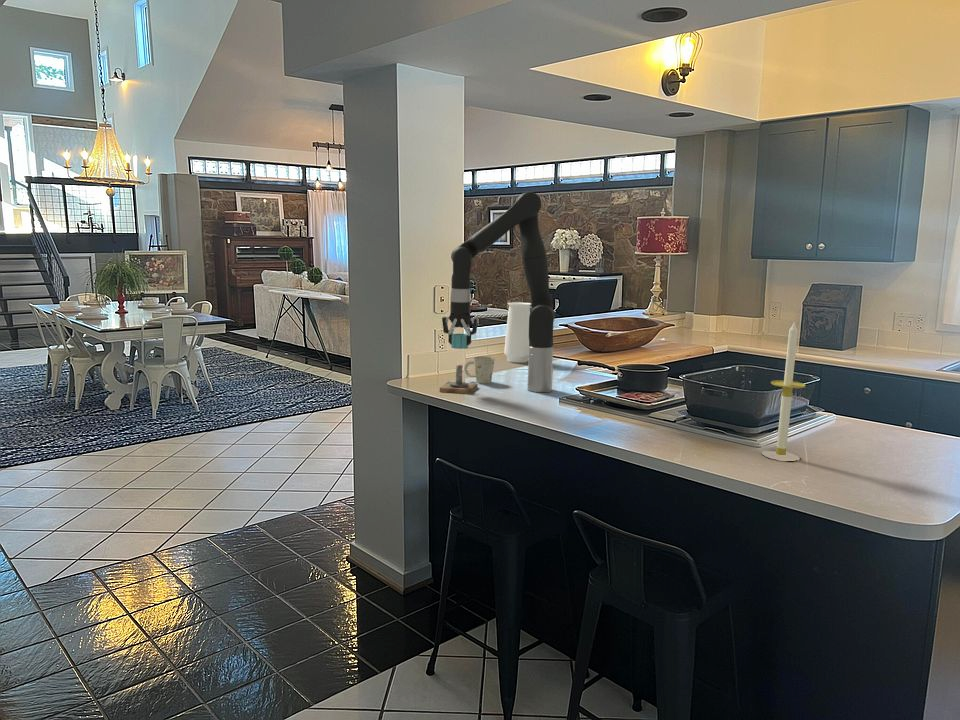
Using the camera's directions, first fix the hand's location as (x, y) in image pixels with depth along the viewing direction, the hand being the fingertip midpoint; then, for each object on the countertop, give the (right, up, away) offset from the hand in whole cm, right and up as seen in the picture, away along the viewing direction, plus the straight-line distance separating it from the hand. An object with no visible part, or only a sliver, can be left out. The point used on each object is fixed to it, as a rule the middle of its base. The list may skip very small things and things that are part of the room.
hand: (459, 344), depth 256 cm
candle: (+90, -33, -72) cm, 120 cm away
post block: (0, -17, +3) cm, 18 cm away
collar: (0, -1, 0) cm, 1 cm away
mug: (+7, -15, +19) cm, 25 cm away
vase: (+26, -7, +70) cm, 75 cm away
